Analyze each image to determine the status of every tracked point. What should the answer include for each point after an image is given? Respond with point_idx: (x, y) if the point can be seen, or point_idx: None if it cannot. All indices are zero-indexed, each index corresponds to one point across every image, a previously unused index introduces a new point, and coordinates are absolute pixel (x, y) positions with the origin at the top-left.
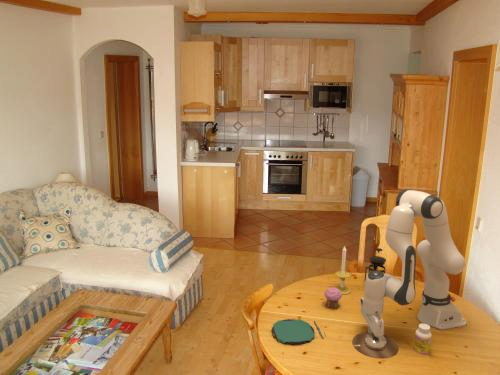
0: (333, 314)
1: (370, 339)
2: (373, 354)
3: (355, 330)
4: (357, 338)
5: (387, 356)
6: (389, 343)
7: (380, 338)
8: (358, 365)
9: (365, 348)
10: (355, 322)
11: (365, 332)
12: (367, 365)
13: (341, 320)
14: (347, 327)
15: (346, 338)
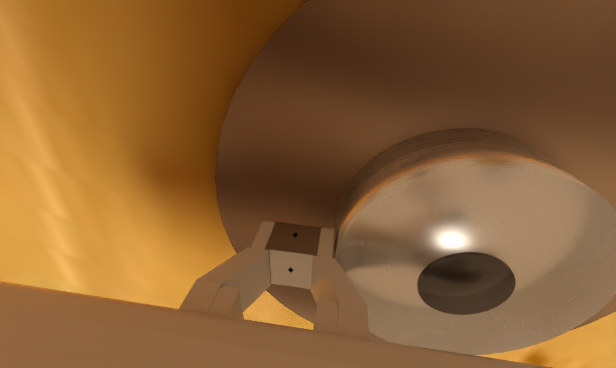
0: (13, 274)
1: (450, 327)
2: None
3: (171, 236)
4: (310, 299)
5: None
6: (481, 57)
7: (480, 234)
8: (569, 364)
9: None
10: (54, 195)
11: (223, 220)
12: (608, 332)
13: (66, 263)
14: (143, 264)
15: (273, 311)
